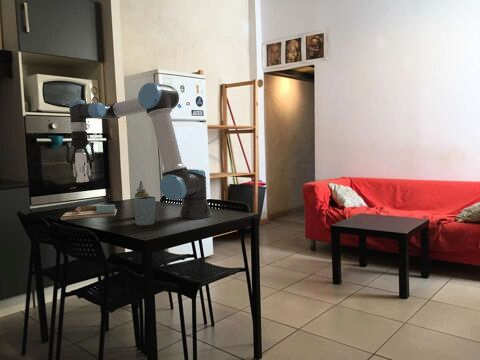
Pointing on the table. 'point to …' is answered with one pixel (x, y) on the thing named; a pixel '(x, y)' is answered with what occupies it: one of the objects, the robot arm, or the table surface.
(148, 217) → the drinking glass
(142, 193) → the squeeze bottle
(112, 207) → the block
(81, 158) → the beer glass
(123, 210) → the table surface
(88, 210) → the board
